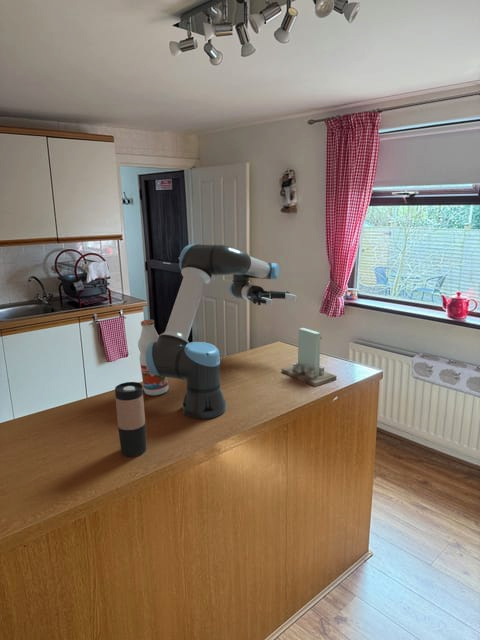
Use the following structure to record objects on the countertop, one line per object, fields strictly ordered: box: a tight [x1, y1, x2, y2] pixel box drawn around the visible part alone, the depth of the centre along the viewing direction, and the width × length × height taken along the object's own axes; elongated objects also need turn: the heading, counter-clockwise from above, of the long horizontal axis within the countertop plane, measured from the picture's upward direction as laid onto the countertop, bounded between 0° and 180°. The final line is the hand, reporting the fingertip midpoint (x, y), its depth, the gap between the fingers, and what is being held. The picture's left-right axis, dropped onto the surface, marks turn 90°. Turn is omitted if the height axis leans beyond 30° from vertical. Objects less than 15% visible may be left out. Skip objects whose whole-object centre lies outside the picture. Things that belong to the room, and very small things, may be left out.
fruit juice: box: [137, 319, 170, 396], centre depth 165 cm, size 9×9×28 cm
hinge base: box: [281, 362, 337, 387], centre depth 181 cm, size 20×12×4 cm, turn 36°
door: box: [297, 327, 322, 376], centre depth 180 cm, size 11×4×18 cm, turn 36°
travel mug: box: [114, 381, 147, 458], centre depth 125 cm, size 8×8×20 cm
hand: (284, 300), depth 184 cm, fingers open, 13 cm apart
